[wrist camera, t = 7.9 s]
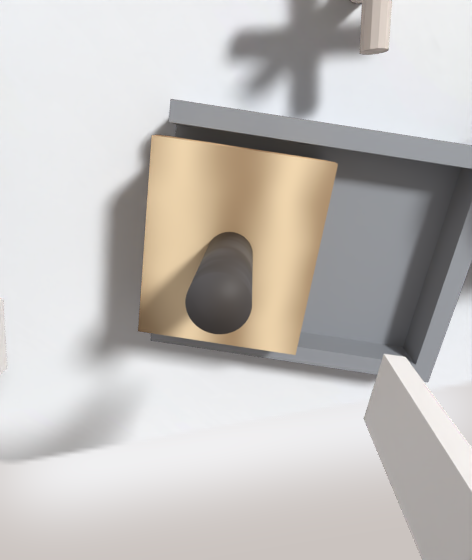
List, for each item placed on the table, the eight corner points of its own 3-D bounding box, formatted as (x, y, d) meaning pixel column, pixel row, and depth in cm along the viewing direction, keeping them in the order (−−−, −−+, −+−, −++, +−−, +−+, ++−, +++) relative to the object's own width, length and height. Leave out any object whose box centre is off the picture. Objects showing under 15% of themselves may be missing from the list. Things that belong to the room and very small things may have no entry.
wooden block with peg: (156, 301, 35) (90, 407, 21) (170, 136, 31) (97, 128, 16) (289, 321, 35) (312, 440, 21) (323, 159, 31) (382, 172, 16)
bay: (162, 318, 38) (150, 340, 33) (181, 104, 31) (170, 98, 27) (408, 355, 38) (428, 382, 34) (476, 150, 32) (511, 151, 27)
